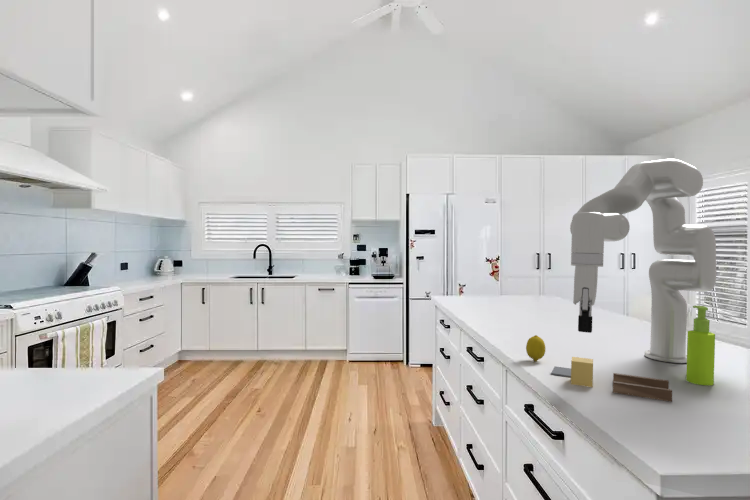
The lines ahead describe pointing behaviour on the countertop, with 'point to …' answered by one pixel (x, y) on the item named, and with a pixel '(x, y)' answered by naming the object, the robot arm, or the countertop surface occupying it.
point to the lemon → (535, 348)
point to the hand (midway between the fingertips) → (585, 331)
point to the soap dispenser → (700, 351)
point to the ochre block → (582, 371)
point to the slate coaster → (561, 371)
